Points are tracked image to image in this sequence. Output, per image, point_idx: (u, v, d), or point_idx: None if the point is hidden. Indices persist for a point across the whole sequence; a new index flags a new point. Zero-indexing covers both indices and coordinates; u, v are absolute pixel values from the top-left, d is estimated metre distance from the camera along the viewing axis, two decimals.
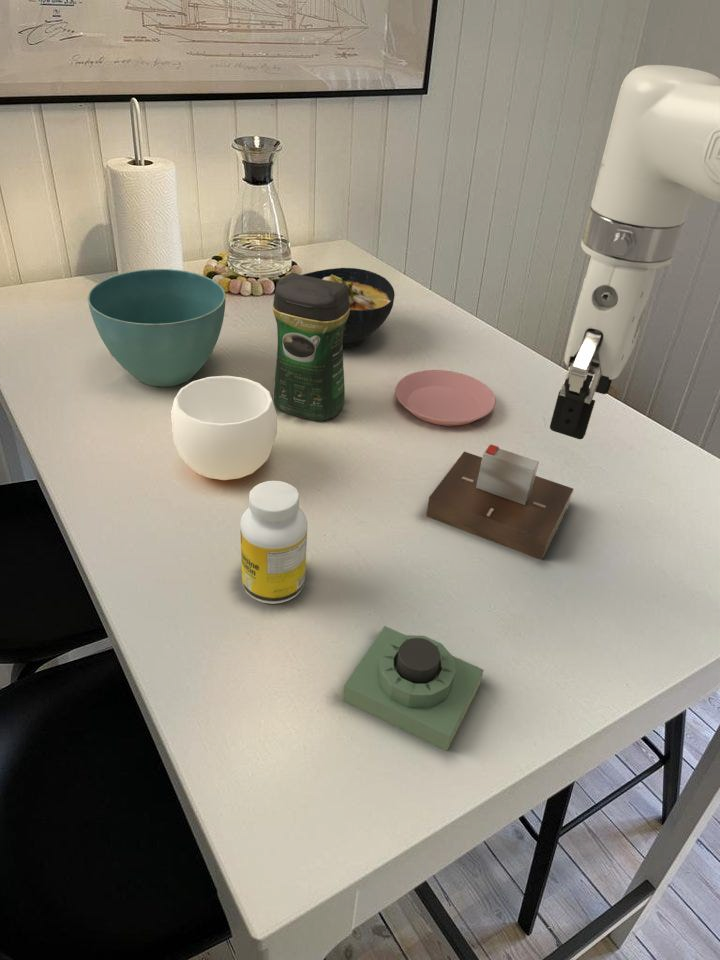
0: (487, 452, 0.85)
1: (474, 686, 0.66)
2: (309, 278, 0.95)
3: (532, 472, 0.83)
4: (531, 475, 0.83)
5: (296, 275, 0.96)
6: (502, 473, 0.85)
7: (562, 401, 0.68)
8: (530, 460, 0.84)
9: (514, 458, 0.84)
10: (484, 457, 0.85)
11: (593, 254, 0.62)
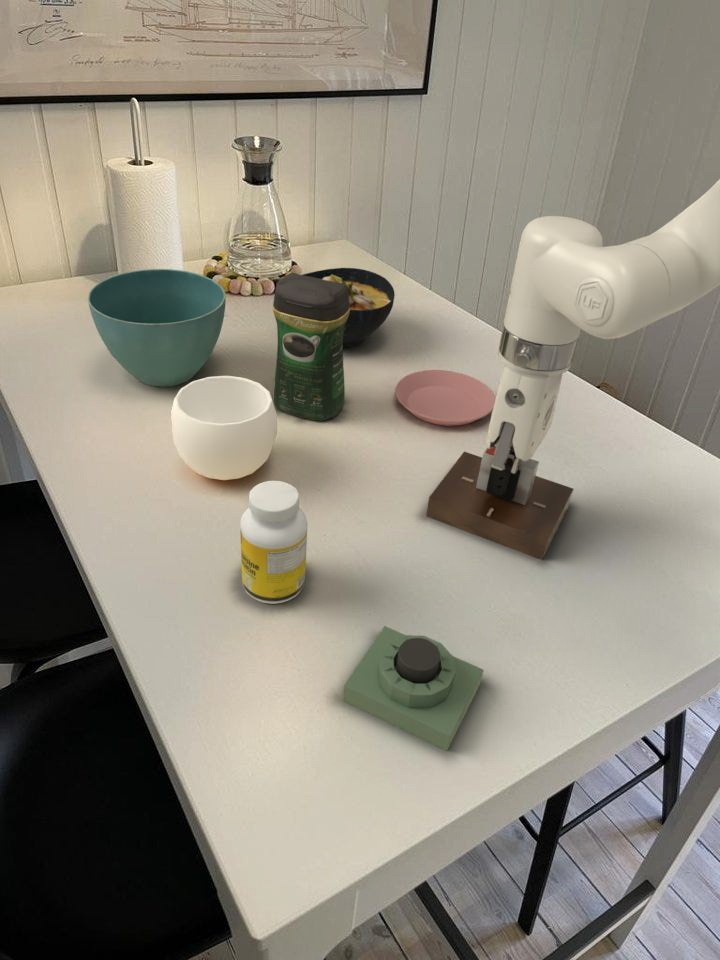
0: (487, 452, 0.85)
1: (474, 686, 0.66)
2: (309, 278, 0.95)
3: (532, 472, 0.83)
4: (531, 475, 0.83)
5: (296, 275, 0.96)
6: None
7: (494, 471, 0.84)
8: (530, 460, 0.84)
9: None
10: (484, 457, 0.85)
11: (506, 362, 0.75)
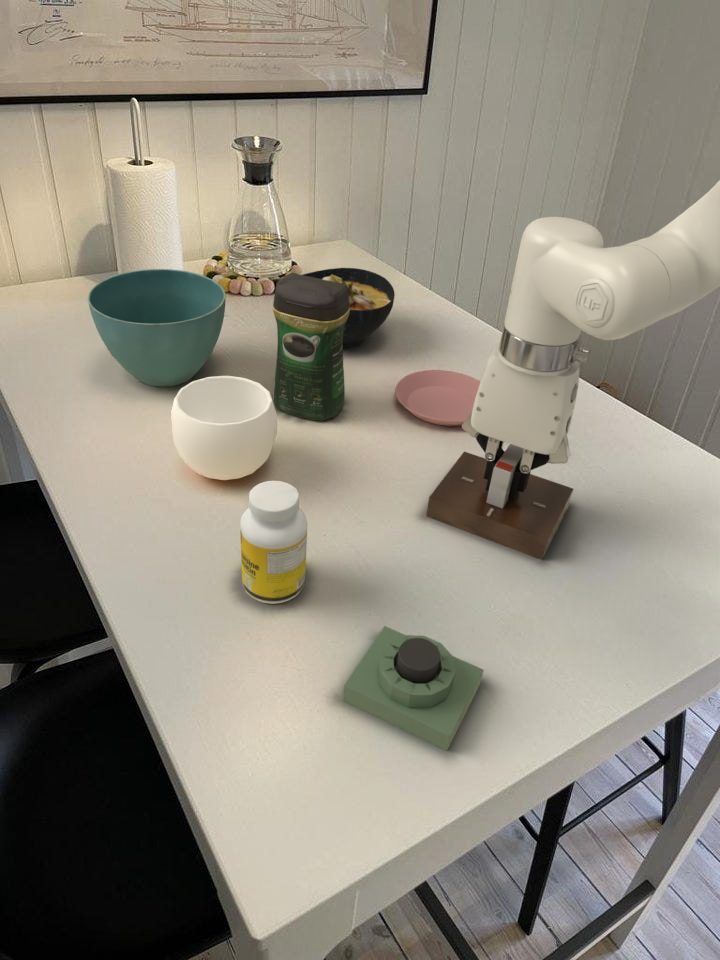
0: (511, 469, 0.82)
1: (474, 686, 0.66)
2: (309, 278, 0.95)
3: None
4: None
5: (296, 275, 0.96)
6: None
7: (519, 476, 0.84)
8: (511, 446, 0.86)
9: (512, 455, 0.85)
10: (510, 475, 0.82)
11: (559, 373, 0.75)
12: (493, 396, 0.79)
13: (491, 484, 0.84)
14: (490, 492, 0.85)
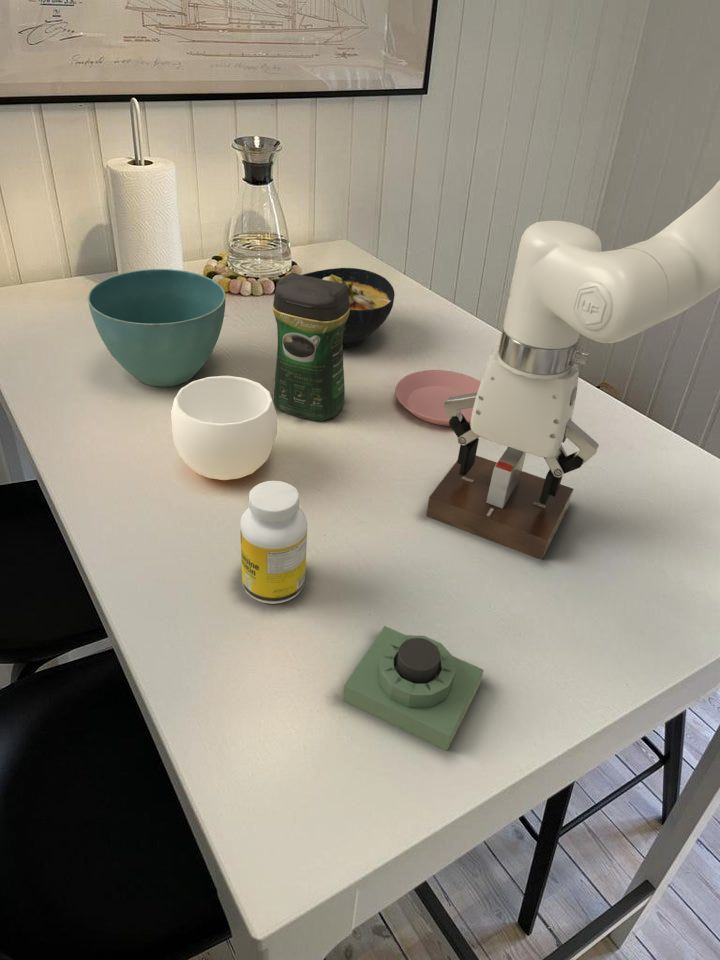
0: (511, 469, 0.82)
1: (474, 686, 0.66)
2: (309, 278, 0.95)
3: None
4: None
5: (296, 275, 0.96)
6: (515, 473, 0.85)
7: (552, 480, 0.82)
8: None
9: (512, 455, 0.85)
10: (510, 475, 0.82)
11: (558, 376, 0.75)
12: (493, 399, 0.79)
13: (491, 484, 0.84)
14: (490, 492, 0.85)
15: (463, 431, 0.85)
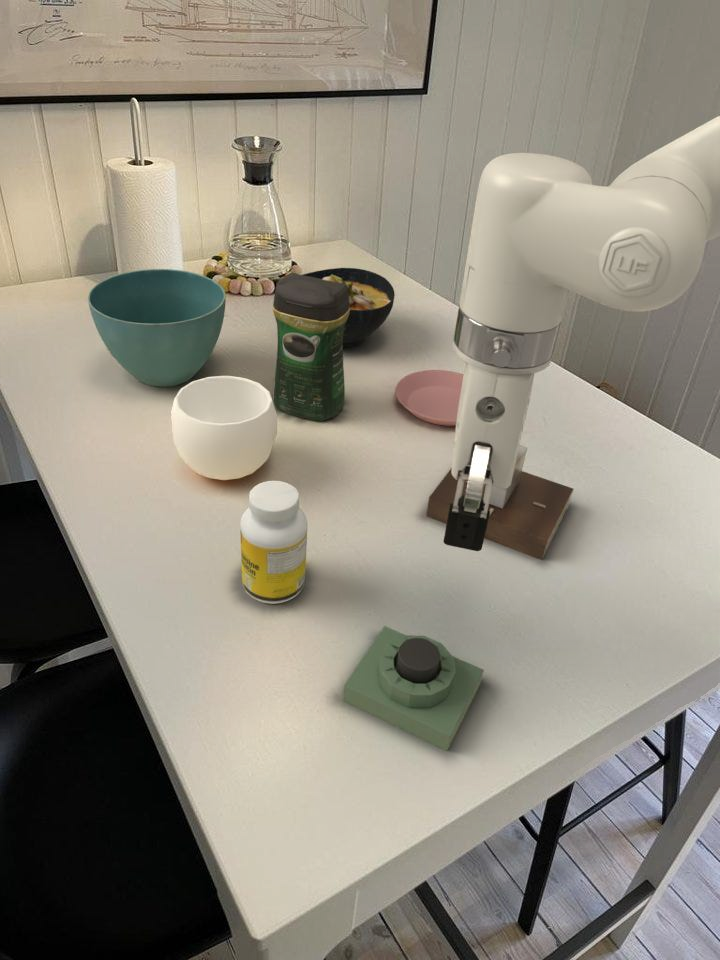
0: None
1: (474, 686, 0.66)
2: (309, 278, 0.95)
3: (526, 450, 0.86)
4: None
5: (296, 275, 0.96)
6: (515, 473, 0.85)
7: (454, 515, 0.61)
8: None
9: None
10: None
11: (471, 362, 0.55)
12: None
13: None
14: None
15: None
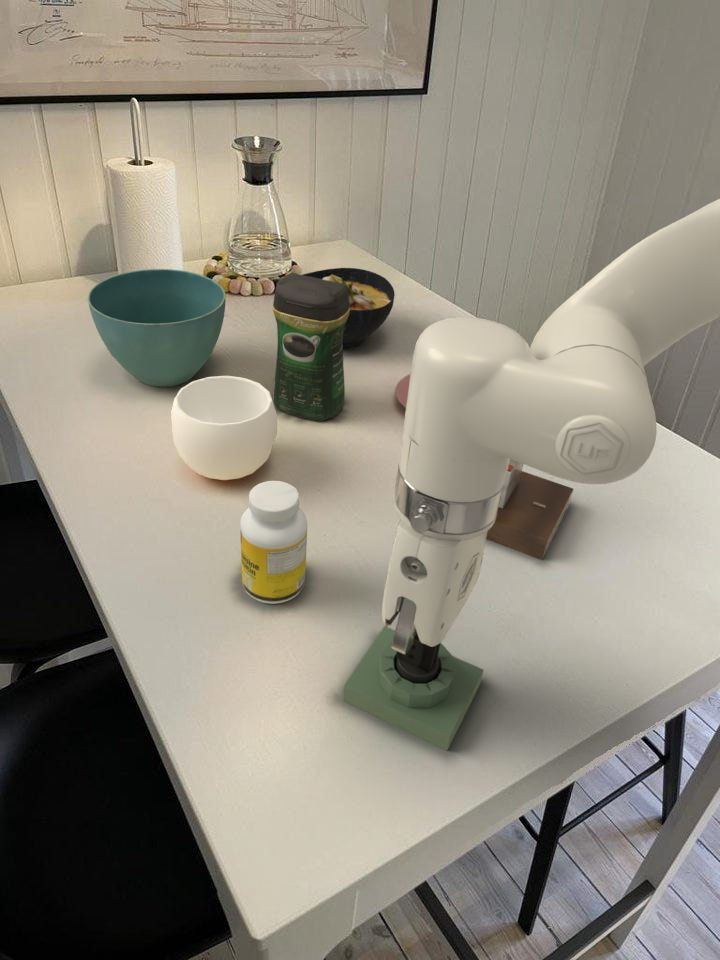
0: (511, 469, 0.82)
1: (474, 686, 0.66)
2: (309, 278, 0.95)
3: None
4: None
5: (296, 275, 0.96)
6: (515, 473, 0.85)
7: None
8: None
9: None
10: (510, 475, 0.82)
11: (401, 517, 0.53)
12: None
13: None
14: None
15: None
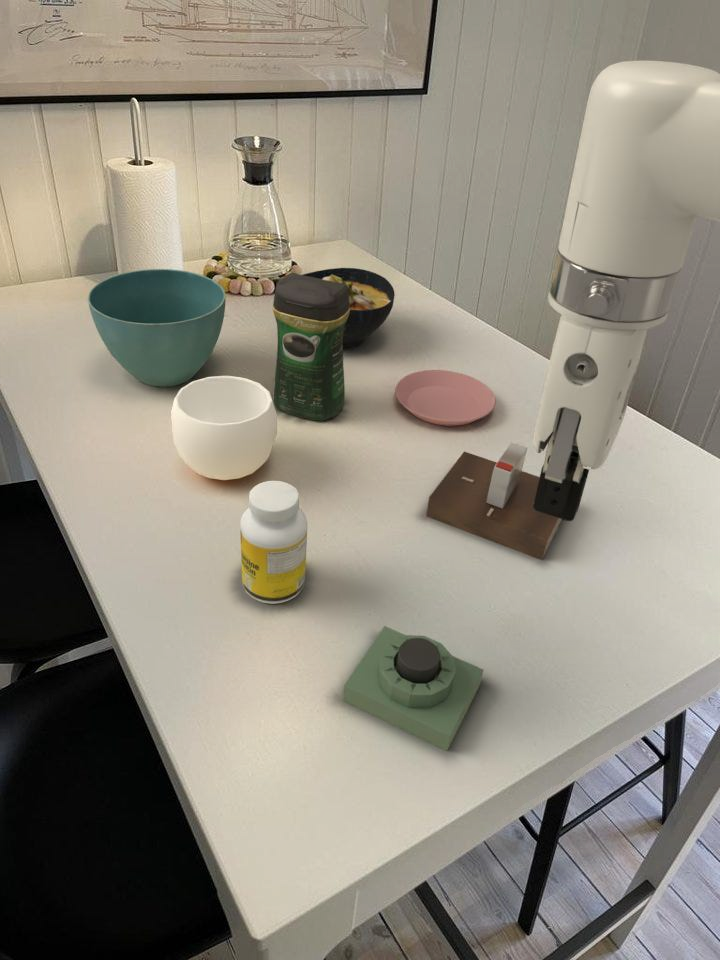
0: (511, 469, 0.82)
1: (474, 686, 0.66)
2: (309, 278, 0.95)
3: (526, 450, 0.86)
4: None
5: (296, 275, 0.96)
6: (515, 473, 0.85)
7: None
8: (511, 446, 0.86)
9: (512, 455, 0.85)
10: (510, 475, 0.82)
11: (564, 312, 0.47)
12: None
13: (491, 484, 0.84)
14: (490, 492, 0.85)
15: None
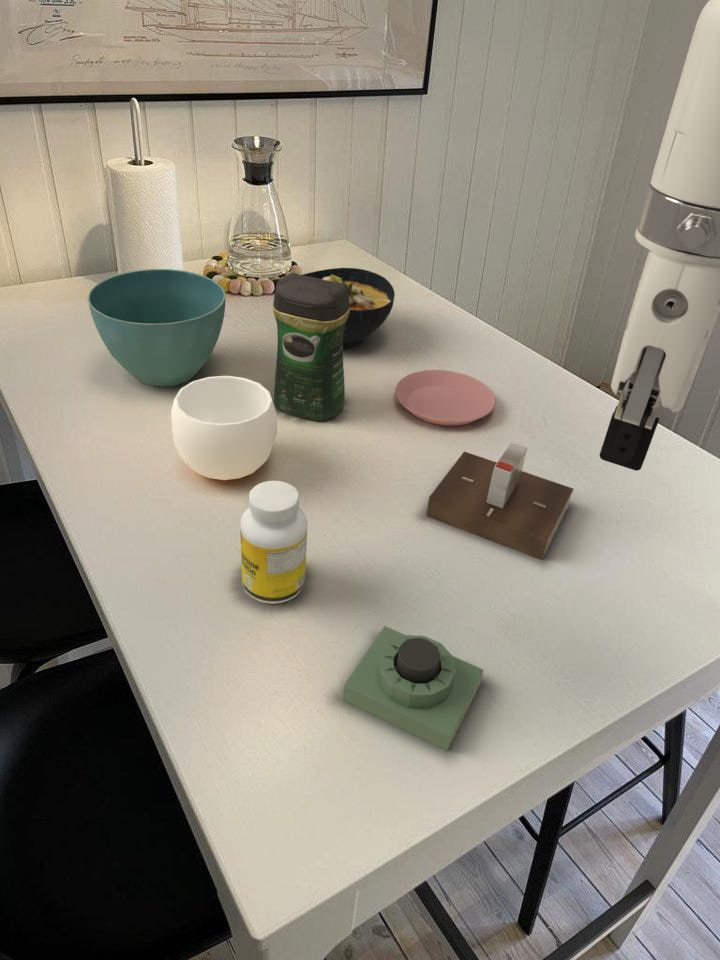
0: (511, 469, 0.82)
1: (474, 686, 0.66)
2: (309, 278, 0.95)
3: (526, 450, 0.86)
4: None
5: (296, 275, 0.96)
6: (515, 473, 0.85)
7: (616, 425, 0.56)
8: (511, 446, 0.86)
9: (512, 455, 0.85)
10: (510, 475, 0.82)
11: (654, 248, 0.47)
12: None
13: (491, 484, 0.84)
14: (490, 492, 0.85)
15: None
